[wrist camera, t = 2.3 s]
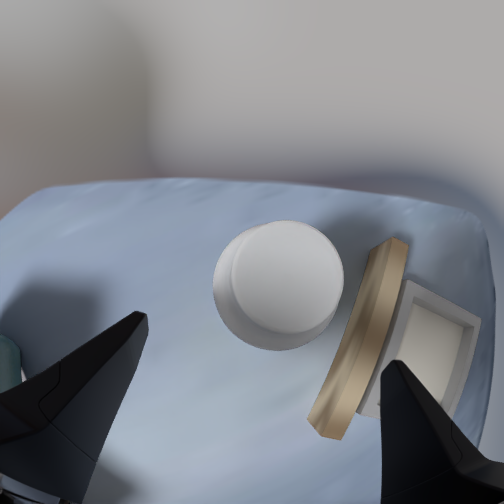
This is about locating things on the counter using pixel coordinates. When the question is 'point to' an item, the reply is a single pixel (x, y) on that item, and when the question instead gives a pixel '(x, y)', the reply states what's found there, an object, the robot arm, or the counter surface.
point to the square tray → (426, 347)
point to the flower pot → (9, 364)
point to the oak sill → (360, 340)
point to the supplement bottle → (278, 284)
